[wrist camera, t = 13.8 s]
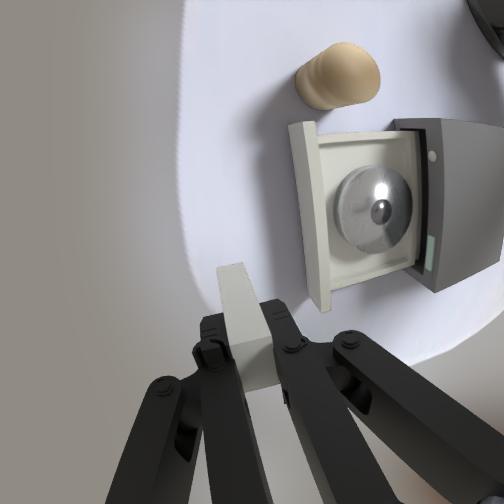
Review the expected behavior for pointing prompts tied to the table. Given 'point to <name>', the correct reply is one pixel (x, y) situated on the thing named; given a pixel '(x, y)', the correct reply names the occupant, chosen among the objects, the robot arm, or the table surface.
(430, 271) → the housing
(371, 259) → the tray
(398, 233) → the disc
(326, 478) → the robot arm
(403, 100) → the table surface
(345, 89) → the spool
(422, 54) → the table surface
